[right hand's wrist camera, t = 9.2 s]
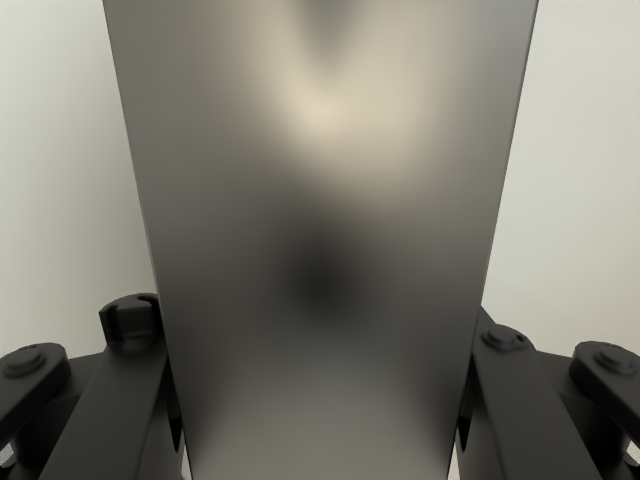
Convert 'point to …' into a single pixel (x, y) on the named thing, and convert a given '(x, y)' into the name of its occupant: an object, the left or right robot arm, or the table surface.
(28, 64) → the table surface
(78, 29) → the table surface
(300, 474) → the bar
